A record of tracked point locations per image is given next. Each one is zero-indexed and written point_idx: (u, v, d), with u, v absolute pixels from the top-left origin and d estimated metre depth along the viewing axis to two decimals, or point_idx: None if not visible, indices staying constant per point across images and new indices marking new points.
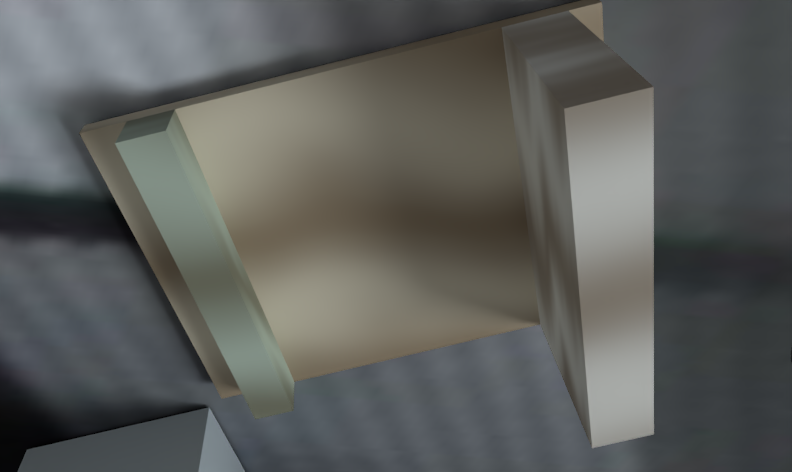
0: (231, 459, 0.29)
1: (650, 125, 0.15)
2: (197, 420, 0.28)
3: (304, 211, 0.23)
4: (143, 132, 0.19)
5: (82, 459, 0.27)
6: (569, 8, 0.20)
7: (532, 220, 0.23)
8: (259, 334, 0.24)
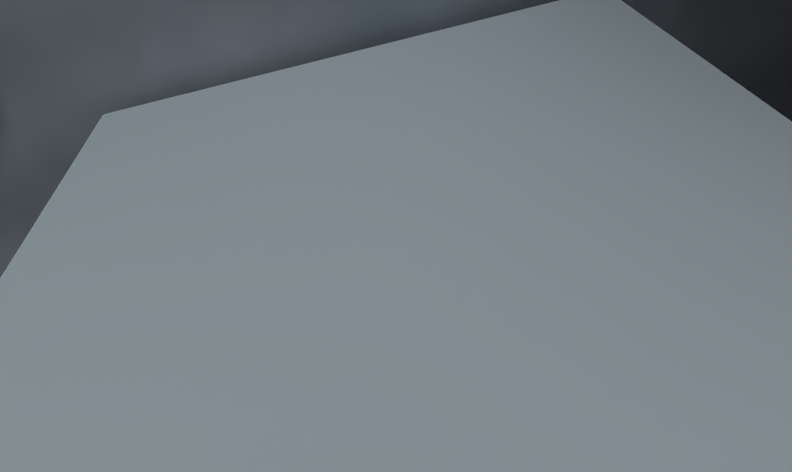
0: (337, 73, 0.07)
1: None
2: None
3: None
4: None
5: None
6: None
7: None
8: None
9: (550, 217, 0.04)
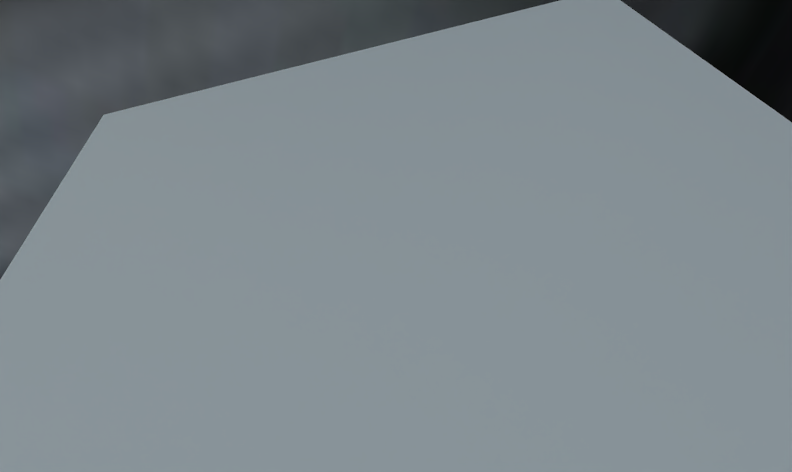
0: (337, 73, 0.07)
1: None
2: None
3: None
4: None
5: None
6: None
7: None
8: None
9: (550, 217, 0.04)
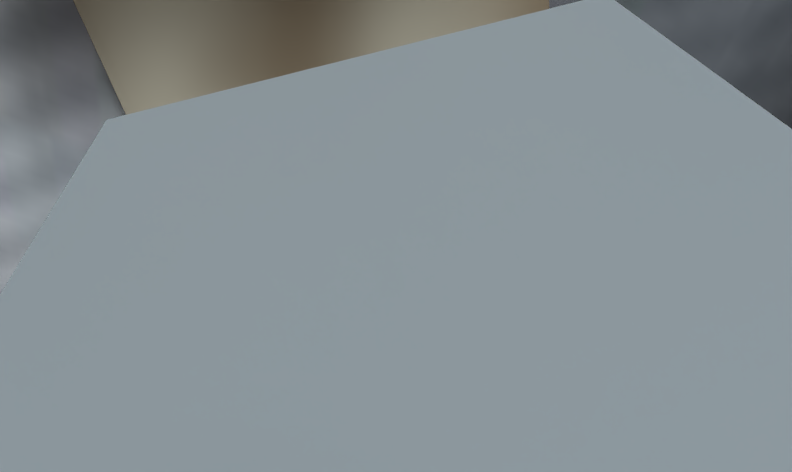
0: (340, 78, 0.07)
1: None
2: None
3: None
4: None
5: None
6: None
7: None
8: None
9: (554, 225, 0.04)
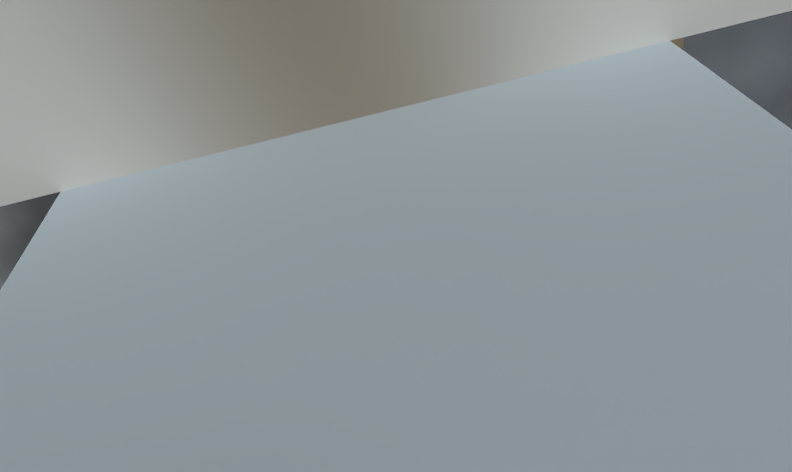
0: None
1: None
2: None
3: None
4: None
5: None
6: None
7: None
8: None
9: (552, 225, 0.04)
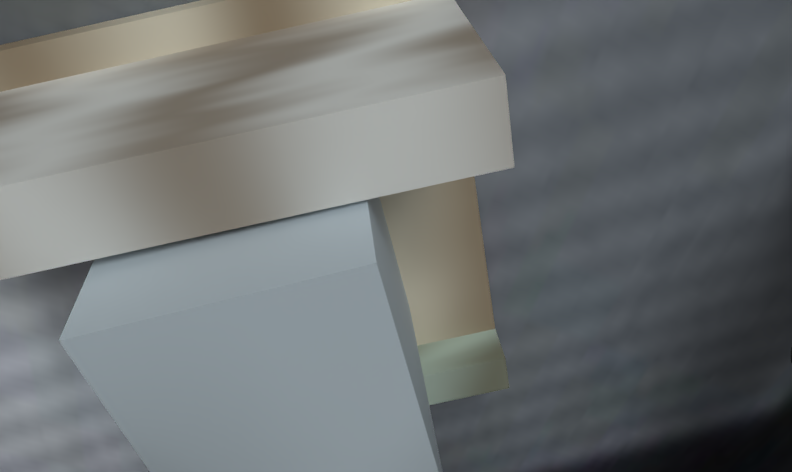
0: None
1: None
2: None
3: None
4: None
5: None
6: (0, 86, 0.18)
7: None
8: None
9: None
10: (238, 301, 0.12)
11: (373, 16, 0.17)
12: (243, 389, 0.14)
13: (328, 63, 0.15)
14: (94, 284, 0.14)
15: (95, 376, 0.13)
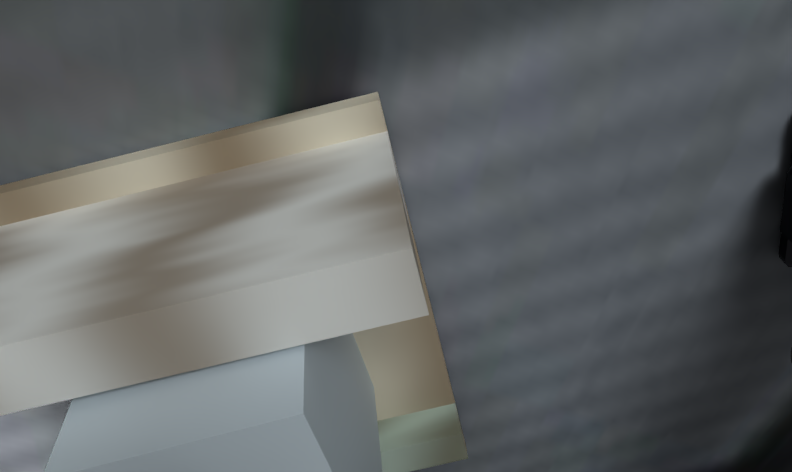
0: None
1: None
2: None
3: None
4: None
5: None
6: None
7: None
8: None
9: None
10: (188, 446, 0.15)
11: (318, 157, 0.19)
12: None
13: (272, 218, 0.17)
14: (73, 421, 0.16)
15: None
